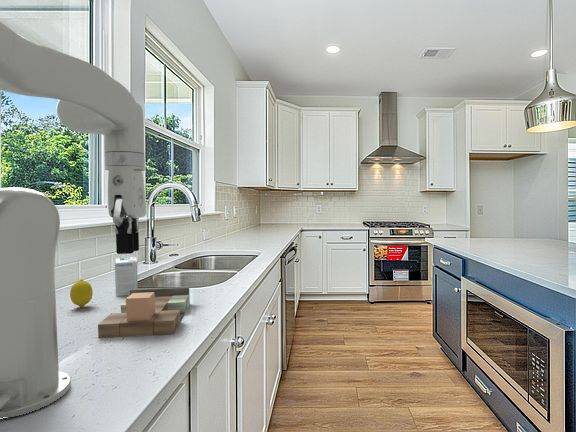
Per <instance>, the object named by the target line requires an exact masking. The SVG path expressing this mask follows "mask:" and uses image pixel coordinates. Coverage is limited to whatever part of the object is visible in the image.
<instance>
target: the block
mask: <svg viewBox="0 0 576 432" xmlns="http://www.w3.org/2000/svg"><path fill="white" fill-rule="evenodd" d="M125 301H126V319H127V321H134V320H150V319H151V318H152V316H153V315H154V314H155V292H147V293H132V294H131V295H127V297H126V298H125Z"/></svg>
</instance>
